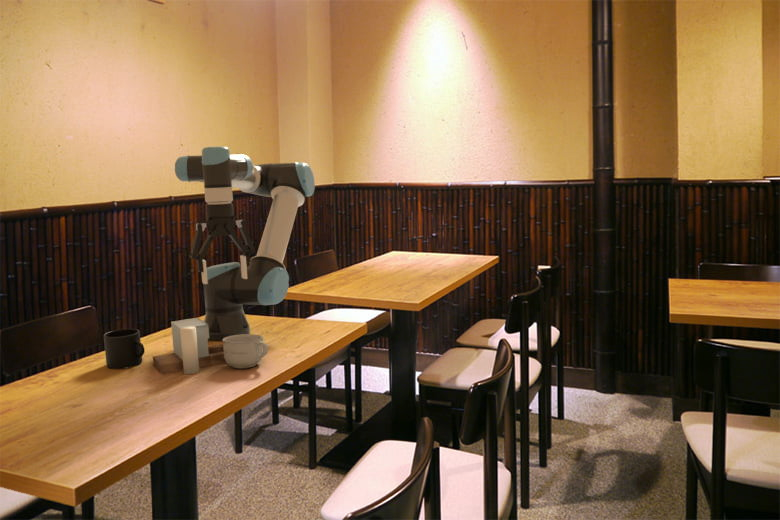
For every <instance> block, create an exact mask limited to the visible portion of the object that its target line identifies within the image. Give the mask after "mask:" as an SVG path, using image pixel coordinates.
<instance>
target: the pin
mask: <svg viewBox="0 0 780 520" xmlns="http://www.w3.org/2000/svg"><path fill="white" fill-rule="evenodd" d="M180 333H181V345H182V357H183V369H184V370H183V374H185V375H194V374H197V373H200V367H199V360H198V348H197V335H196V327H194V326H188V327H183V328H181V329H180Z"/></svg>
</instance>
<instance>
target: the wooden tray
mask: <svg viewBox="0 0 780 520" xmlns="http://www.w3.org/2000/svg"><path fill="white" fill-rule="evenodd" d="M208 352H209V356H206V357H200V358H198V360H199V368H202V367H207V366H210V365H211V366H212V365H217V364H218V365H219V364H223V363H227V362H226V361H225V358H224V350H223V343H222V344H221V343H220V344H215V345H210V346H209V345H208ZM152 361H153V366H154V368H156V370H157V371H159V373H161V375H165V374H170V373H175V372H181V371H184V369H183V360H182V359H181V358H180V357H178V356H177V355H176V354H175V353H174V352H172V353H171V352H170V353H165V354H159V355H154V356H152Z"/></svg>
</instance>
